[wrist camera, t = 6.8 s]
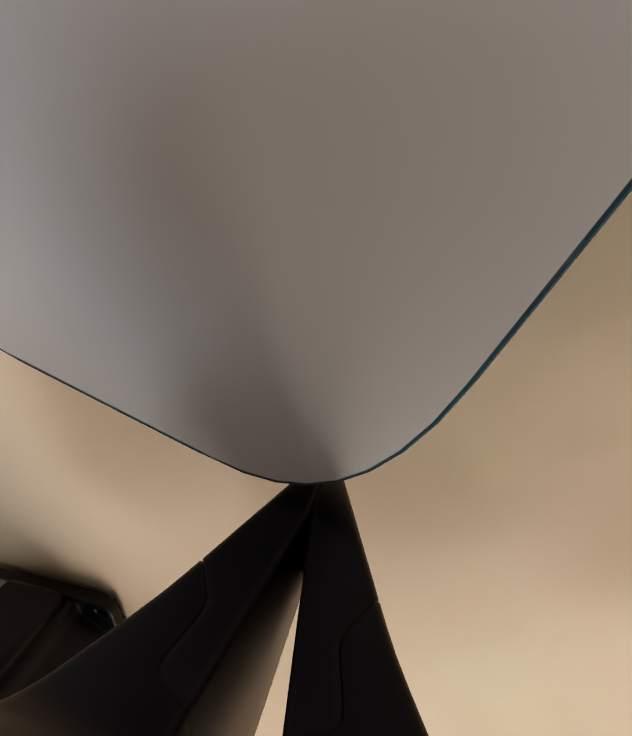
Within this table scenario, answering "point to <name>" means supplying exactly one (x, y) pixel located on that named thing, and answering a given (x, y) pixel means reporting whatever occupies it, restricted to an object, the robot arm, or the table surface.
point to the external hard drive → (298, 206)
